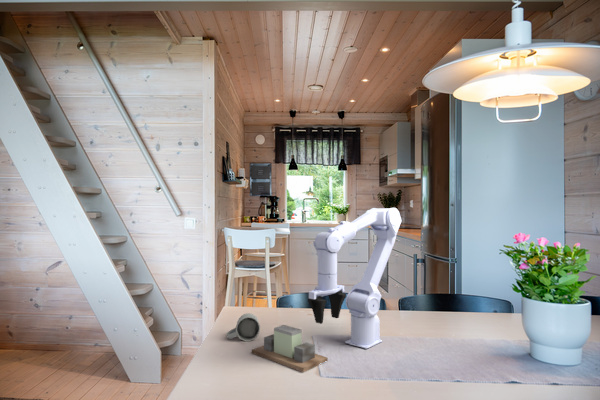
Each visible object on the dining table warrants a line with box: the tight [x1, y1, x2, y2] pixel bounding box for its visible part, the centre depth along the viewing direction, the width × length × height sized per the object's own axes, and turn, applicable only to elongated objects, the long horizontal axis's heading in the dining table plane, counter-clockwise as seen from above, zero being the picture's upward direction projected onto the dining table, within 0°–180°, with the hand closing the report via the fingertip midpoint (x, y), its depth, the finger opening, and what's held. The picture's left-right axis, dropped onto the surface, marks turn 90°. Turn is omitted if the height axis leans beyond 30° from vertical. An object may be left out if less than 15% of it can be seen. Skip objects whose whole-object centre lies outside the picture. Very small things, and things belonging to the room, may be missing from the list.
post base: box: [251, 333, 328, 373], centre depth 109 cm, size 10×20×4 cm, turn 48°
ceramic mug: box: [226, 312, 261, 342], centre depth 126 cm, size 11×8×8 cm
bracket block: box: [273, 324, 303, 358], centre depth 109 cm, size 4×7×7 cm, turn 48°
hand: (327, 320), depth 113 cm, fingers open, 7 cm apart
